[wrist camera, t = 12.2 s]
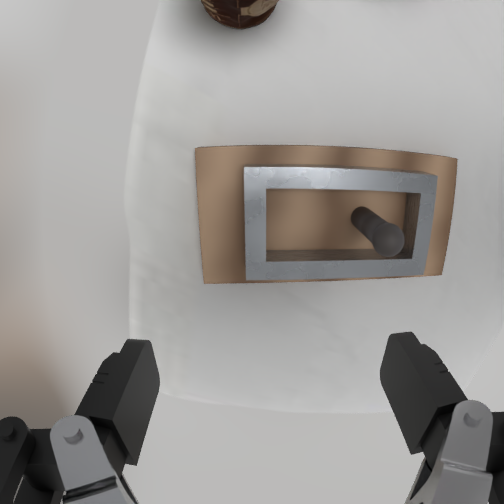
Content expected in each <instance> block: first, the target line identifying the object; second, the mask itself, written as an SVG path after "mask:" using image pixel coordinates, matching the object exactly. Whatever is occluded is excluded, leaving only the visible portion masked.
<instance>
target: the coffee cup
mask: <svg viewBox="0 0 504 504" xmlns="http://www.w3.org/2000/svg"><path fill="white" fill-rule="evenodd" d="M278 1H279V0H201V2H202V3H203V5H204V8H205V9H206V11H207V12H208V14H209V15H210V16H211V17H212V18H213V19H215V20H216V21H218V22H219V23H221V24H223V25H225V26H228V27H232V28H237V29H244V28H248V27H252V26H256V25H259V24H260V23H262V22H264V21H265V20H266V19H267V18H268V17H269V16H270V14H271V13H272V12H273V10H274V8H275V6H276V3H277V2H278Z"/></svg>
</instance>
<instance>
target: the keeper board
mask: <svg viewBox="0 0 504 504" xmlns="http://www.w3.org/2000/svg"><path fill="white" fill-rule="evenodd" d="M195 160H196V181H197V198H198V214H199V228H200V242H201V255H202V267H203V278H204V284H219V283H274V282H310V281H338V280H362V279H383V278H402V277H420V276H436V275H442V271H443V266H444V261H445V256H446V250H447V245H448V239H449V233H450V226H451V219H452V212H453V204H454V195H455V185H456V174H457V159H456V158H451V157H446V156H439V155H431V154H423V153H415V152H405V151H395V150H384V149H372V148H357V147H339V146H313V145H240V146H214V147H198V148H195ZM244 164H319V165H344V166H363V167H378V168H392V169H403V170H414V171H424V172H427V173H430V174H434V175H437V176H438V180H437V190H436V200H435V208H434V216H433V224H432V230H431V237H430V243H429V249H428V255H427V260H426V265H425V270H424V275H414V276H391V277H366V278H336V279H297V280H246V256H245V204H244ZM406 196H407V192H392V191H372V190H345V189H287V188H270V189H266V250H316V249H375V251H376V252H377V253H378V254H380V255H382V256H385V257H392V256H395V255H396V254H398V253H399V252H400V251H401V250H402V248H403V245H404V235H403V224H404V216H405V206H406Z"/></svg>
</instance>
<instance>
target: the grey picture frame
mask: <svg viewBox="0 0 504 504" xmlns="http://www.w3.org/2000/svg"><path fill="white" fill-rule="evenodd" d="M437 180H438V176H437V175H434V174H430V173H427V172H424V171H414V170H403V169H392V168H378V167H363V166H344V165H319V164H244V204H245V256H246V280H297V279H336V278H366V277H391V276H414V275H424V270H425V265H426V260H427V255H428V249H429V243H430V237H431V230H432V224H433V216H434V208H435V200H436V190H437ZM270 188H287V189H345V190H372V191H392V192H407V196H406V206H405V216H404V224H403V235H404V245H403V248H402V250H401V251H400V252H399V253H398V254H396V255H395V256H392V257H385V256H382V255H380V254H378V253H377V252H376V251H375V249H316V250H266V189H270Z"/></svg>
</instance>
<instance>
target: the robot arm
mask: <svg viewBox="0 0 504 504" xmlns="http://www.w3.org/2000/svg"><path fill="white" fill-rule="evenodd" d="M380 380H381V384H382V387H383V389H384V391H385V393H386V396H387V398H388V400H389V403H390V405H391V407H392V410H393V412H394V414H395V417H396V419H397V421H398V424H399V426H400V429H401V431H402V433H403V436H404V438H405V441H406V443H407V446H408V448H409V451H410V453H411V454H416V453H420V452H424V455H425V458H424V459H423V461H422V463H421V466H420V469H419V471H418V474H417V477H416V479H415V481H414V484H413V486H412V488H411V491H410V493H409V495H408V497H407V499H406V502H405V504H487V503H488V502H489V504H504V412H491V411H490V409H489V408H488V407H487V406H486V405H484V404H483V403H481V402H479V401H475V400H468V399H467V398H466V396H465V395H464V393H463V391H462V390H461V388H460V387H459V385H458V384H457V382H456V381H455V379H454V378H453V376H452V375H451V373H450V372H448V369H447V367H446V366H445V365H444V364H443V363H442V360H441V359H440V357H439V356H438V354H437V353H436V352H435V351H434V350H432V349H431V348H430V347H428V346H427V345H425V344H422V345H421V344H420V342H419V341H418V339H417V338H416V336H415V335H414V334H413V333H412V332H404V333H396V334H391V335H390V336H389V338H388V342H387V346H386V350H385V353H384V357H383V361H382V365H381V368H380ZM159 386H160V378H159V372H158V368H157V364H156V360H155V356H154V352H153V348H152V344H151V342H150V341H149V340H137V339H127V340H126V342H125V344H124V346H123V348H122V349H121V351H120V353H112V354H111V355H110V356H109V357H108V358H107V359H105V360H104V361H103V362H102V364H101V366H100V368H99V369H98V371H97V374H96V375H95V377H94V379H93V383H91V384H90V386H89V388H88V390H87V392H86V394H85V395H84V397H83V399H82V401H81V403H80V405H79V407H78V409H77V411H76V413H75V414H74V415H71V416H66V417H64V418H62V419H60V420H59V421H57V422H56V423H55V424H54V426H53V427H52V429H29V428H28V427H27V425H26V424H25V422H24V421H23V420H21V419H20V418H18V417H7V418H4V419H2V420H0V504H13V499H14V495H15V493H16V490H17V488H18V485H19V483H20V480H21V478H22V477H23V480H22V483H21V485H20V488H19V490H18V493H17V496H16V498H15V501H14V504H60V502H61V499H62V501H63V504H139V502H138V500H137V499H136V497H135V496H134V494H133V492H132V490H131V488H130V486H129V484H128V483H127V481H126V479H125V477H124V475H123V473H122V471H123V468H124V465H125V464H130V465H136V466H137V462H138V459H139V455H140V452H141V448H142V445H143V441H144V438H145V435H146V431H147V428H148V424H149V421H150V418H151V414H152V411H153V408H154V405H155V401H156V398H157V395H158V392H159ZM64 491H66V495H63V492H64Z"/></svg>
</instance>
